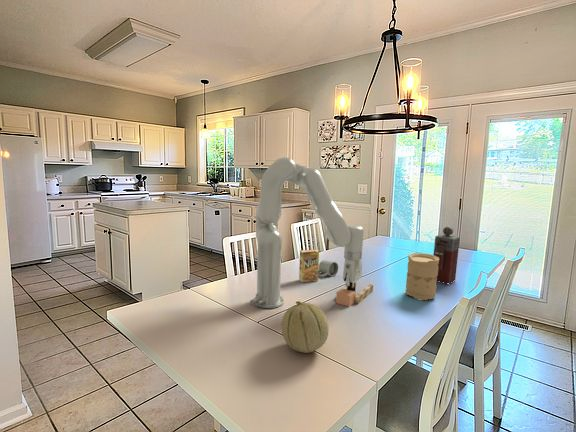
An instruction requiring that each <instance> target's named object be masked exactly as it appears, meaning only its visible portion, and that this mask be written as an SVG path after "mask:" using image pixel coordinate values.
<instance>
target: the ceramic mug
mask: <svg viewBox="0 0 576 432" xmlns="http://www.w3.org/2000/svg"><path fill="white" fill-rule="evenodd" d="M338 271H339V263H338V262H336V261H333V260H328V259H324V260H321V261H319V268H318V278H325V277H326V276H328V277H329V276H330V277H334V276H336V275H337V274H338ZM320 273H321V274H320Z"/></svg>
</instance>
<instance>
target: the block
mask: <svg viewBox="0 0 576 432" xmlns="http://www.w3.org/2000/svg"><path fill="white" fill-rule="evenodd" d="M340 289H341V290H340ZM340 289H339V290H340V291H339V290H338V292H336V297H335V298H336V300H335V303H336V304H339V305H343V306H346V307H351V306H352V305H354V304H355V296H356V295H357V293H356V290H355V291H351V290H347V289H342V288H340Z"/></svg>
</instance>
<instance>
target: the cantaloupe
mask: <svg viewBox="0 0 576 432" xmlns="http://www.w3.org/2000/svg"><path fill="white" fill-rule="evenodd" d="M281 319H282V320H281V332H282V333H281V334H282V337H283V339H284V342H285V343H286V345H288V346H289V347H290V348H291V349H292V350H294V351H296V352H298V353H299V352H300V353H302V354H303V353H305V354H308V353H312V352H315V351H317V350H319V349H320V348H322V347H323V345H324V344H325V343H326V341H327V339H328V337H329V331H330V329H329V322H328V318H327V317H326V314H325V312H324V311H323V310H322V309H321V307H319V306H318V305H316V304H315V303H314V304H313V303H311V302H301V301H299V300H297V301H296V302H295V304H294V305H292V306H291V307H288V309H287V310H286V311H285V312H284V314H283V316H282V318H281Z"/></svg>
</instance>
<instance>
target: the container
mask: <svg viewBox="0 0 576 432" xmlns="http://www.w3.org/2000/svg"><path fill="white" fill-rule="evenodd" d="M438 264H439V258H438V257H436V256H434V254H431V253H426V252H425V253H424V252H423V253H422V252H413V253H410V254H408V262H407V272H406V282H405V283H406V284H405V295H406V294H407V295H409V297H412V298H414V299H415V300H416V299H421V300H420V301H423V300H425V301H428V299H429V300H433V299H435V297H436V293H437V283H438V282H437V278H436V277H437V276H438ZM407 295H406V296H407Z"/></svg>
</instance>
